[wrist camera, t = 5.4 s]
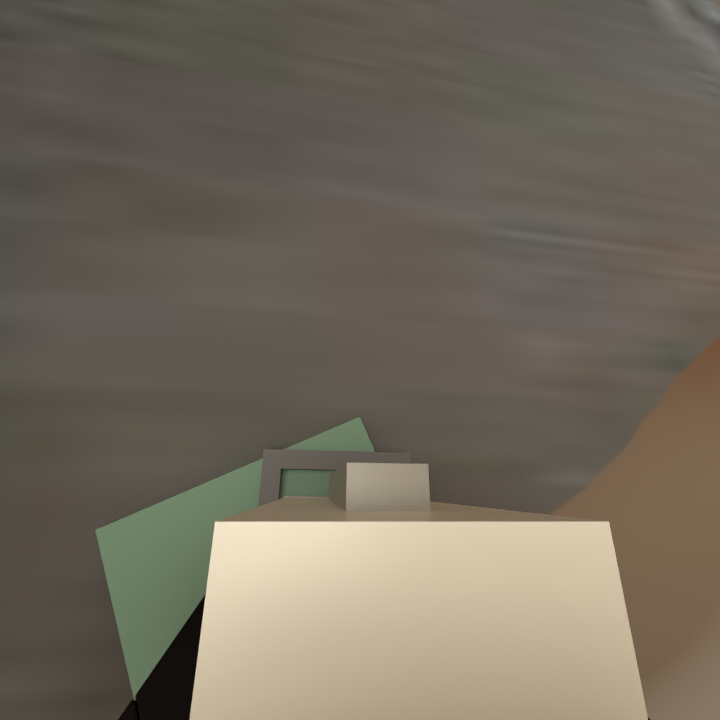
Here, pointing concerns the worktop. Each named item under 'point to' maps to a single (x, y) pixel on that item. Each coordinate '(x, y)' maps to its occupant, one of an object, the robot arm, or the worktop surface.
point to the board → (206, 537)
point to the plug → (412, 610)
